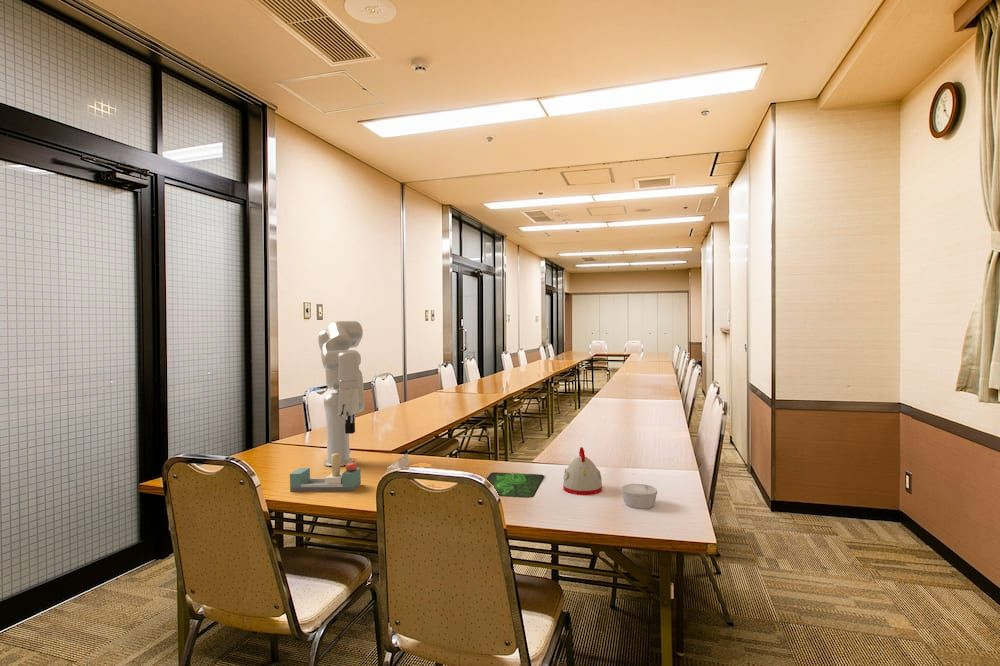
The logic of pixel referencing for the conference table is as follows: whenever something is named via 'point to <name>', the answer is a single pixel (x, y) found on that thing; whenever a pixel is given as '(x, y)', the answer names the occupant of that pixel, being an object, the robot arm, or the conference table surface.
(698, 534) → the conference table surface
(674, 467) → the conference table surface
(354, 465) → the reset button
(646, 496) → the ramekin
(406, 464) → the white angular piece
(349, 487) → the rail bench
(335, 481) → the carriage
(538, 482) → the mouse mat
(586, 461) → the kitchen timer
